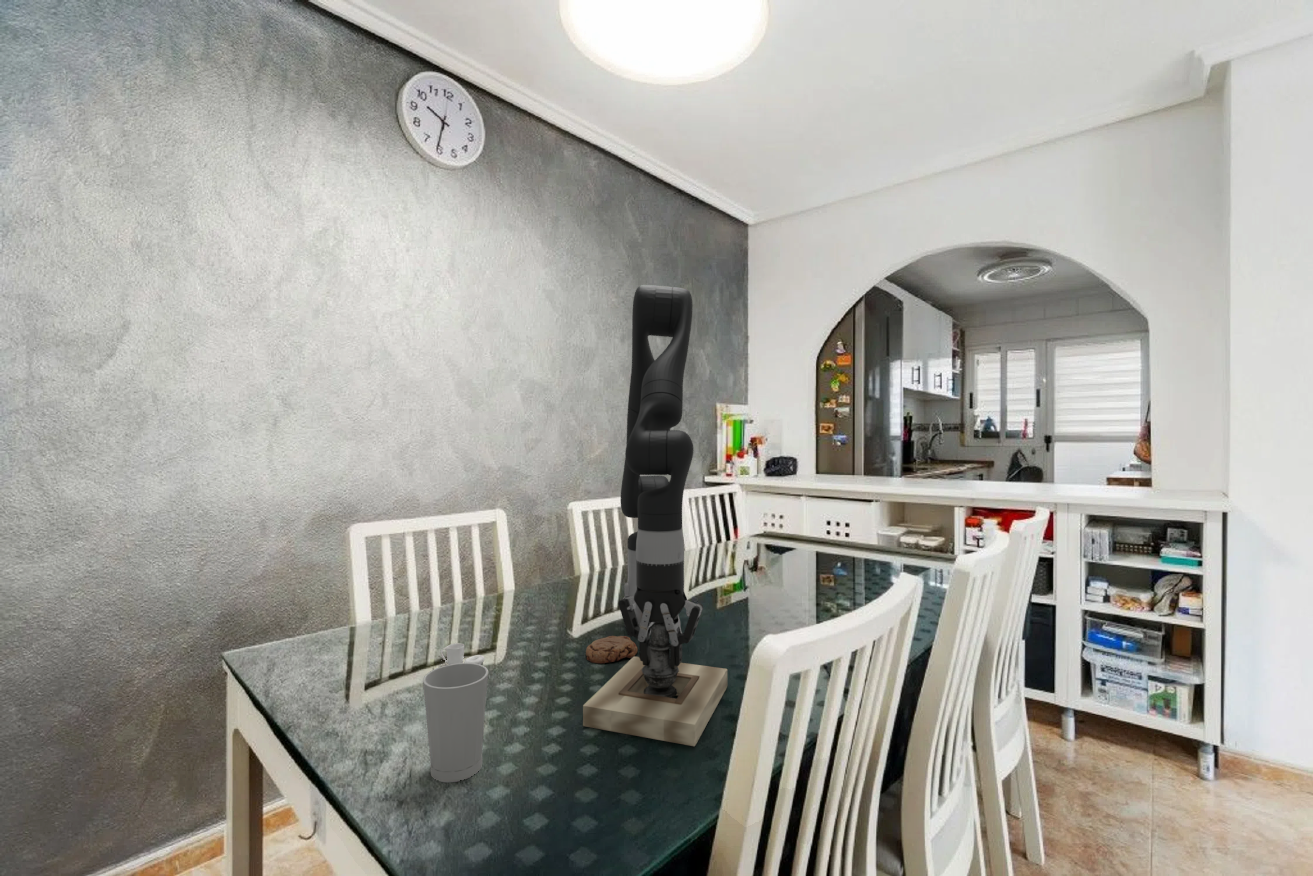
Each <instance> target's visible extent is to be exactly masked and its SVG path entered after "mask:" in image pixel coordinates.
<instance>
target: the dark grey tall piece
mask: <svg viewBox="0 0 1313 876" xmlns="http://www.w3.org/2000/svg"><path fill="white" fill-rule="evenodd" d="M650 638H651V643H650V644H649V647H650V648H651V659H650V664H649V665H648V666H646V665H645V666H644V667H643V668H642V673H643V674H644V678H645V680H646V682H647V683H648V684H649V686H648V687H646V688H645V689H644V693H643V694H650V695H656V696H662V697H669V698H674V697H675V696H677V695H676V694H677V689H676V688H675V687H673V686H672V684H673V683H674V682H675V680H676V677H677V673H678V672H679V668H678V667H677V668H676V669H671V668H670V646H671V645H672V644H671V642H670V636H669V633H668V632H667V630H666V626H665V624H664V623H661V622H655V623H653V624H652V626H651V633H650Z"/></svg>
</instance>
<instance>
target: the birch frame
mask: <svg viewBox="0 0 1313 876" xmlns="http://www.w3.org/2000/svg"><path fill="white" fill-rule="evenodd" d="M644 666H645V665H643V661H640V658H639V656H636V655H635V656H634V657H631V658H630V660H628V661H627V662H626V663H625V664H624V665H623V666H622V667H621V668H620V669H619V670H618V671H617V672H616V673H615V674H614V675H613V676H612V677H611V678H610V679H609V680H608V681H606V683H605V684H604V685H602V686H601V688H600V689H598V690H597V692H596V693H594V694H593V695H592V696H591V697H590V698H589V699H588V700H587V701H586V702H585V703H584V704H583V705H582V726H583V727H588V728H591V729H592V728H594V729H597V730H603V731H609V732H614V733H620V734H626V735H631V736H637V737H641V738H648V739H653V740H658V741H664V742H667V743H668V742H669V743H675V744H680V745H685V746H691V747H695V746H697V743H698V741H699V740H700V738H701V736H702V735H703V732H704V730H705V728H707V727H706V726H707V724H708V722H709V721H710V719H711V718H712V716H713V713H714V712H715V710H716V708H717V707H718V706H719V705H718V704H719V703H720V701H721V699H722V698H723V696H724V694H725V692H726V690H727V688H728V669H727V668H722V667H715V666H710V665H709V666H708V665H699V664H693V663H687V662H686V663H685V662H681V663H680V665H679V666H678V668H679V672H678V673H677V677H676V680H675V682H674V683H673V684H672V686H673V687H675V688H676V689H677V694H676V695H675V696H677V698H674V697H672V698H669V697H662V696H656V695H650V694H644V689H645V688H646V687H648V686H649V684H648V683H647V682H646V680H645V678H644V674H643V673H642V668H643V667H644Z"/></svg>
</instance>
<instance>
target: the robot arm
mask: <svg viewBox="0 0 1313 876" xmlns="http://www.w3.org/2000/svg"><path fill="white" fill-rule="evenodd" d="M693 306H694V305H693V298H692V293H691V292H690V291H689V289H687V288H683V287H677V286H667V285H653V284H640V285H639V286H637V288H636V290H635V291H634V295H633V302H632V315H631V316H632V318H631V319H632V322H631V324H632V325H631V327H632V329H631V370H630V371H631V372H630V380H629V381H630V383H629V391H628V399H627V400H628V401H627V412H626V413H627V414H626V415H627V416H626V442H625V443H626V445H625V453H624V454H625V457H624V465H623V471H622V472H623V473H622V479H621V480H622V481H621V487H620V509H621V512H622V514H623V515H624V516H625V517H627V518H632V519H637V531H635V532H633V533H630V534H629V536H628V538H627V581H626V582H625V583H624V585H623V588H624V597H623V598H621V599H620V600H619V601H618V607H619V610H620V614H621V617H622V620H623V624H624V628H625V631H626V633H627V637H629V638H631V637H632V638H636V639H637V641H638V644H639V649H638V650H639V653H638V654H639V655H638V657H639V658H640V661H643V665H646V666H648V665H649V664H650V659H651V648H650V647H649V644H650V643H651V626H652V624H653V623H655V622H661V623H664V624H665V626H666V630H667V632H668V633H669V641H670V644H671V646H670V668H671V669H676V668H677V667H678V666H679V665H680V663H682V661H683V644H689V643H690V642H691V640H693V638H694V636H695V633H696V630H697V628H698V625H699V621H700V618H701V616H702V613H703V609H704V604H703V603H701V602H698V603H694V602H693V601H691V600H689V599H688V597H687V595H686V593H685V544H684V543H685V542H684V535H683V534H684V533H683V499H684V492H685V487H686V483H687V478H688V475H689V472H690V468H691V464H692V461H693V456H694V444H693V440H692V439H691V436H690V435H689V434H688V433H687V432H686V431H684V430H679V429H676V430H675V429H672V428H674V427H676V426H677V425H679V423H680V422H681V420H682V417H683V407H684V406H683V405H684V404H683V403H684V402H683V401H684V399H683V397H684V396H683V395H684V394H683V393H684V392H683V391H684V390H683V389H684V387H683V386H684V378H685V377H684V376H685V368H686V363H687V359H688V353H689V352H688V351H689V344H690V337H691V331H692V329H691V328H692V322H693ZM649 336H651V337H653V336H654V337H665V338H667V337H668V338H671V341H670V342H669V344H668V345H667V347H665V349H664V350H663V351H662V352H661V353H660V354H659V355H658V356H657V357H656V359H655V357H654V356H653V352H652V350H651V347H650V342H649ZM666 476H670V479H668V477H666ZM684 608H685V614H686V616H687V617H688V619H687V623H686V626H685V627H684V631H683V632H682V628H681V619H680V616H679V614H680V613H681V612H682V611H683V610H684Z"/></svg>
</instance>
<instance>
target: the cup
mask: <svg viewBox="0 0 1313 876" xmlns="http://www.w3.org/2000/svg"><path fill="white" fill-rule="evenodd" d="M488 680H489V670H488V668H487V667H486V666H485V665H483V664H481V665H480V664H475V663H464V662H463V663H457V664H450V665H448V664H446V665H443V666H439V668H436V669H434V670H433V669H432V670H430V671H428V672H427V673H426V674H425V675H424V676H423V678H422V686H423V694H424V695H423V696H424V705H425V716H426V717H425V718H426V727H427V730H426V731H427V739H428V749H429V762H430V776H431V777H433V778H434V780H435V779H436V780H435V781H437V780H439V781H438V782H440V783H456V782H457V783H458V782H461V781H460V780H462V781H464V779H465V780H467V779H469V778H472V777H473V776H475V775H476V774H477V773H479V772H478V771H480V770H481V769H482V767H483V748H484V747H483V744H484V733H485V732H484V731H485V720H486V719H485V716H486V715H485V714H486V703H487V692H488ZM474 774H475V775H474ZM471 776H472V777H471ZM433 778H432V779H433Z"/></svg>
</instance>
